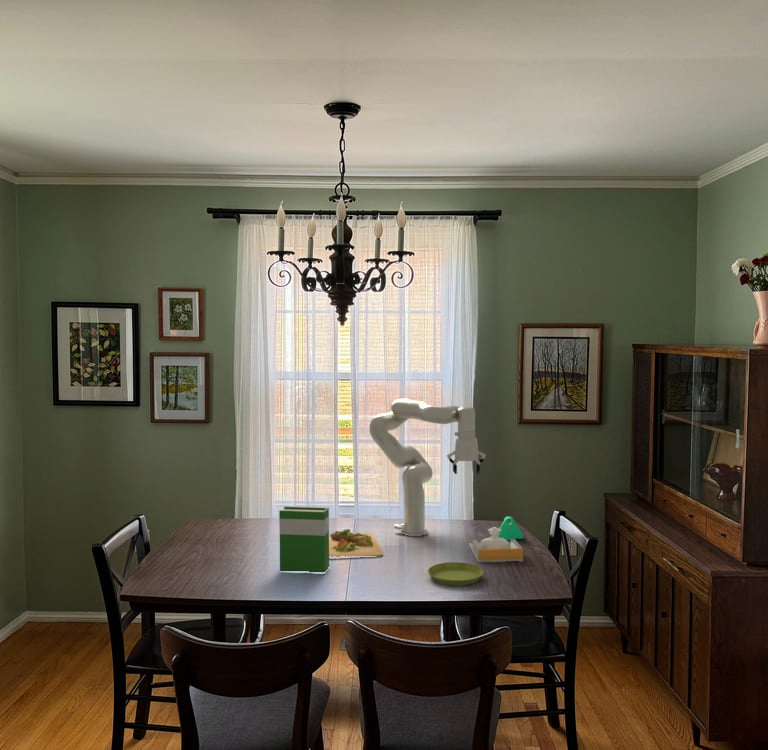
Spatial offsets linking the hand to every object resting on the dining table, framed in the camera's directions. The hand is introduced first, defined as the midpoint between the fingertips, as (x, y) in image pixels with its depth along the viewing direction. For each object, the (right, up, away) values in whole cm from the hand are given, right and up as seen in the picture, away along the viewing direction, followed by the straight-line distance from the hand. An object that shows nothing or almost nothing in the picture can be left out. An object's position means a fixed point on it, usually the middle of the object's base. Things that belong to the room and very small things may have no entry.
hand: (466, 473), depth 307 cm
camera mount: (+20, -31, +5) cm, 37 cm away
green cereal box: (-67, -32, -40) cm, 84 cm away
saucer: (-10, -33, -49) cm, 60 cm away
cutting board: (-51, -32, -7) cm, 60 cm away
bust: (+9, -30, -20) cm, 37 cm away
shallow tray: (+10, -31, -17) cm, 37 cm away
